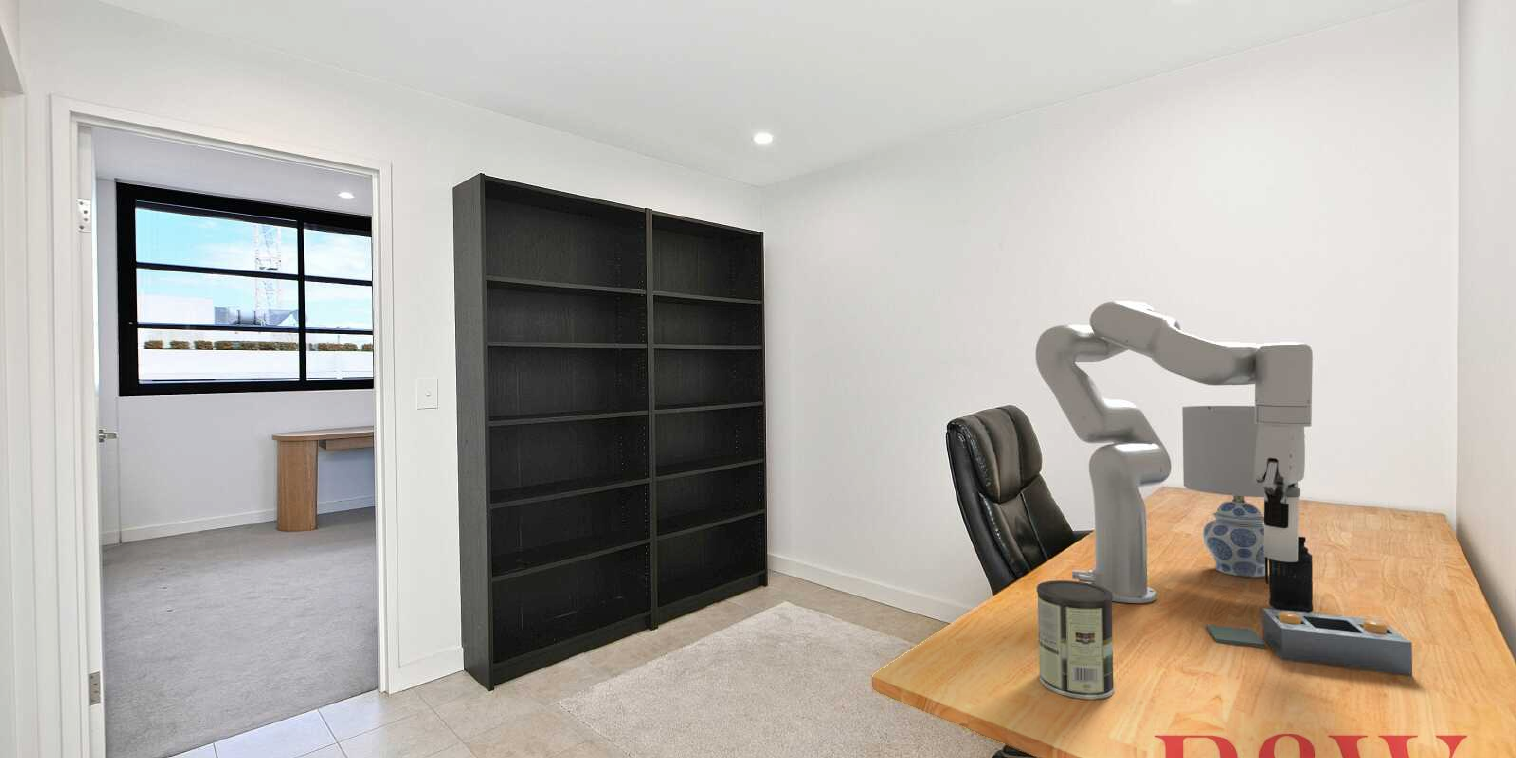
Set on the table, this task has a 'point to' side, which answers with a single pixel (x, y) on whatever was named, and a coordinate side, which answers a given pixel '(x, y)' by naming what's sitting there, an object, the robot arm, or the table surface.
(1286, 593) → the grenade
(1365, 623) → the plunger right
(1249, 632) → the mat
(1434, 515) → the table surface
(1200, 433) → the lamp
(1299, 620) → the plunger left
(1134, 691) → the table surface
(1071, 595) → the coffee can
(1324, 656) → the housing
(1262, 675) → the table surface
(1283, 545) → the ball
